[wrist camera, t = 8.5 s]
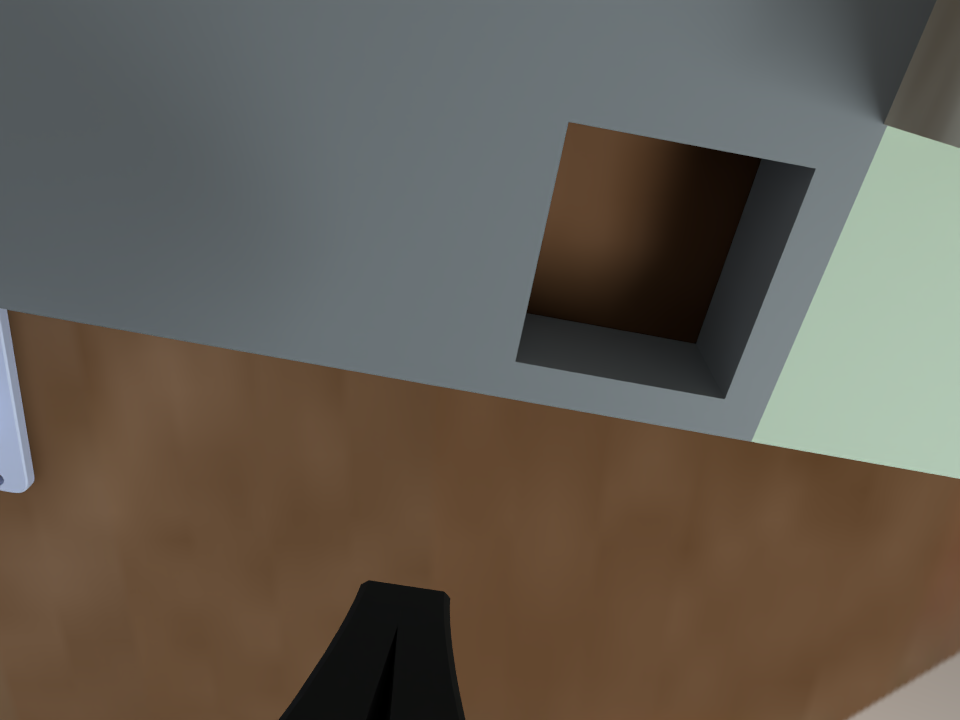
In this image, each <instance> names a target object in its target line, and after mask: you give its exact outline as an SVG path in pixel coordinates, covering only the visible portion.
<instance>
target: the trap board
mask: <svg viewBox="0 0 960 720" xmlns="http://www.w3.org/2000/svg"><path fill="white" fill-rule="evenodd" d="M936 1H937V0H0V308H1V309H7V310H12V311H18V312H24V313H29V314H35V315H40V316H46V317H52V318H57V319H63V320H69V321H74V322H80V323H86V324H91V325H97V326H102V327H108V328H114V329H119V330H125V331H131V332H136V333H142V334H148V335H153V336H159V337H164V338H170V339H176V340H181V341H187V342H193V343H198V344H204V345H210V346H215V347H221V348H226V349H232V350H238V351H243V352H249V353H255V354H260V355H266V356H272V357H277V358H283V359H289V360H294V361H300V362H305V363H311V364H317V365H322V366H328V367H334V368H339V369H345V370H351V371H356V372H362V373H367V374H373V375H379V376H384V377H390V378H396V379H401V380H407V381H413V382H418V383H424V384H429V385H435V386H441V387H446V388H452V389H458V390H463V391H469V392H475V393H480V394H486V395H491V396H497V397H503V398H508V399H514V400H520V401H525V402H531V403H537V404H542V405H548V406H553V407H559V408H565V409H570V410H576V411H582V412H587V413H593V414H599V415H604V416H610V417H616V418H621V419H627V420H632V421H638V422H644V423H649V424H655V425H661V426H666V427H672V428H678V429H683V430H689V431H694V432H700V433H706V434H711V435H717V436H723V437H728V438H734V439H740V440H745V441H751V442H756V443H762V444H768V445H773V446H779V447H785V448H790V449H796V450H802V451H807V452H813V453H818V454H824V455H830V456H835V457H841V458H847V459H852V460H858V461H864V462H869V463H875V464H881V465H886V466H892V467H897V468H903V469H909V470H914V471H920V472H926V473H931V474H937V475H943V476H948V477H954V478H959V479H960V148H957V147H954V146H951V145H948V144H945V143H941V142H938V141H935V140H932V139H929V138H925V137H922V136H919V135H916V134H913V133H909V132H906V131H903V130H900V129H897V128H893V127H890V126H887V125H884V122H885V120H886V117H887V115H888V113H889V110H890V108H891V106H892V103H893V101H894V99H895V96H896V94H897V92H898V89H899V87H900V85H901V82H902V80H903V78H904V75H905V73H906V71H907V68H908V66H909V64H910V61H911V59H912V57H913V54H914V52H915V50H916V47H917V45H918V43H919V40H920V38H921V36H922V33H923V31H924V29H925V26H926V24H927V22H928V19H929V17H930V15H931V12H932V10H933V8H934V5H935V3H936ZM568 122H573V123H578V124H583V125H589V126H594V127H599V128H604V129H610V130H615V131H620V132H625V133H631V134H636V135H641V136H647V137H652V138H657V139H662V140H668V141H673V142H678V143H683V144H689V145H694V146H699V147H705V148H710V149H715V150H720V151H726V152H731V153H736V154H741V155H747V156H752V157H757V158H762V160H761V162H760V165H759V168H758V171H757V174H756V176H755V179H754V182H753V185H752V188H751V190H750V193H749V196H748V199H747V202H746V204H745V207H744V210H743V213H742V216H741V219H740V221H739V224H738V227H737V230H736V233H735V235H734V238H733V241H732V244H731V247H730V249H729V252H728V255H727V258H726V261H725V263H724V266H723V269H722V272H721V275H720V278H719V280H718V283H717V286H716V289H715V292H714V294H713V297H712V300H711V303H710V306H709V308H708V311H707V314H706V317H705V320H704V322H703V325H702V328H701V331H700V334H699V336H698V339H697V342H696V344H694V343H689V342H683V341H678V340H672V339H667V338H661V337H656V336H650V335H645V334H639V333H634V332H628V331H623V330H617V329H612V328H606V327H601V326H595V325H590V324H584V323H578V322H573V321H567V320H562V319H556V318H551V317H545V316H540V315H534V314H529V313H526V311H527V307H528V302H529V298H530V293H531V289H532V284H533V280H534V275H535V271H536V266H537V262H538V257H539V253H540V248H541V244H542V239H543V235H544V230H545V226H546V221H547V217H548V212H549V208H550V203H551V198H552V194H553V189H554V185H555V180H556V176H557V171H558V167H559V162H560V158H561V153H562V149H563V144H564V140H565V135H566V131H567V126H568Z"/></svg>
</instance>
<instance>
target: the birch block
mask: <svg viewBox="0 0 960 720" xmlns="http://www.w3.org/2000/svg"><path fill="white" fill-rule="evenodd" d="M884 125H887V126H890V127H893V128H897V129H900V130H903V131H906V132H909V133H913V134H916V135H919V136H922V137H925V138H929V139H932V140H935V141H938V142H941V143H945V144H948V145H951V146H954V147H957V148H960V0H937V1H936V3H935V5H934V8H933V10H932V12H931V15H930V17H929V19H928V22H927V24H926V26H925V29H924V31H923V33H922V36H921V38H920V40H919V43H918V45H917V47H916V50H915V52H914V54H913V57H912V59H911V61H910V64H909V66H908V68H907V71H906V73H905V75H904V78H903V80H902V82H901V85H900V87H899V89H898V92H897V94H896V96H895V99H894V101H893V103H892V106H891V108H890V110H889V113H888V115H887V117H886V120H885V122H884Z"/></svg>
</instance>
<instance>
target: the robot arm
mask: <svg viewBox="0 0 960 720" xmlns="http://www.w3.org/2000/svg"><path fill="white" fill-rule="evenodd" d="M0 475H1V476H0V490H2V491H8V492H14V493H21V492H24V491H26V490H27V489H28V488H29V487H30V486H31V485H32V484H33V482H34V472H33V466H32V460H31V454H30V448H29V442H28V436H27V429H26V423H25V417H24V411H23V405H22V399H21V393H20V387H19V381H18V375H17V369H16V363H15V357H14V350H13V344H12V338H11V332H10V326H9V320H8V314H7V309H1V308H0ZM279 720H465V716H464V711H463V707H462V702H461V697H460V693H459V687H458V682H457V676H456V670H455V663H454V656H453V649H452V640H451V629H450V598H449V596H448V595H447V594H446V593H445V592H443V591H436V590H430V589H423V588H416V587H410V586H403V585H396V584H390V583H383V582H376V581H370V580H369V581H367V582H365V583H363V584H361V586H360V588H359V591H358V593H357V596H356V598H355V600H354V602H353V604H352V606H351V608H350V610H349V612H348V614H347V616H346V617H345V619H344V621H343V623H342V625H341V626H340V628H339V630H338V632H337V633H336V635H335V637H334V638H333V640H332V642H331V643H330V645H329V647H328V648H327V650H326V652H325V653H324V655H323V656H322V658H321V659H320V661H319V662H318V664H317V665H316V667H315V668H314V670H313V671H312V673H311V674H310V676H309V677H308V679H307V680H306V682H305V683H304V685H303V687H302V688H301V690H300V691H299V693H298V694H297V695H296V697H295V698H294V700H293V701H292V703H291V704H290V705H289V707H288V708H287V709H286V711H285V712H284V713H283V715H282V716H281V717H280V719H279Z"/></svg>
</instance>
